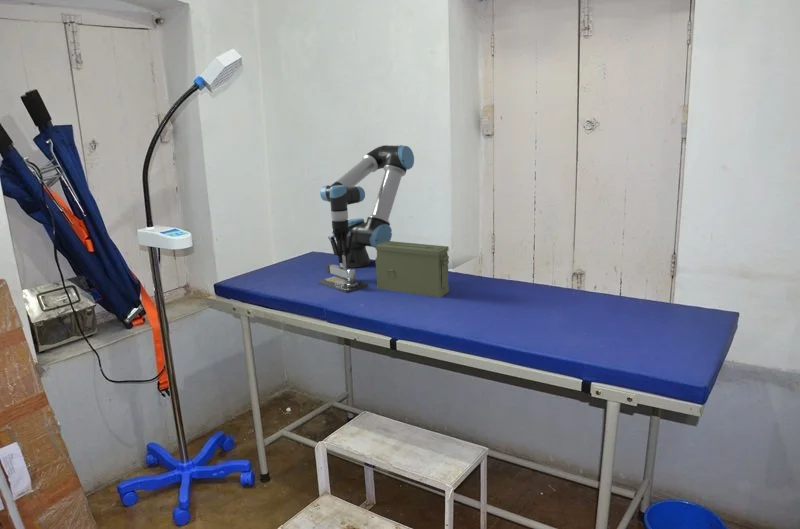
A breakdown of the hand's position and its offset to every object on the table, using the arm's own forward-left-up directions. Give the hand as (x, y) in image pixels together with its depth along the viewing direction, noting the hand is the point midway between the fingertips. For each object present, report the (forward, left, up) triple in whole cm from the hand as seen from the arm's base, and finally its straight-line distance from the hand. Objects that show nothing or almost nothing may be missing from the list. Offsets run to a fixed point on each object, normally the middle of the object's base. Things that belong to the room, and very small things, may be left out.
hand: (343, 269), depth 281 cm
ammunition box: (-11, +37, -5) cm, 39 cm away
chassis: (+5, +6, -5) cm, 10 cm away
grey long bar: (+5, +6, -2) cm, 8 cm away
